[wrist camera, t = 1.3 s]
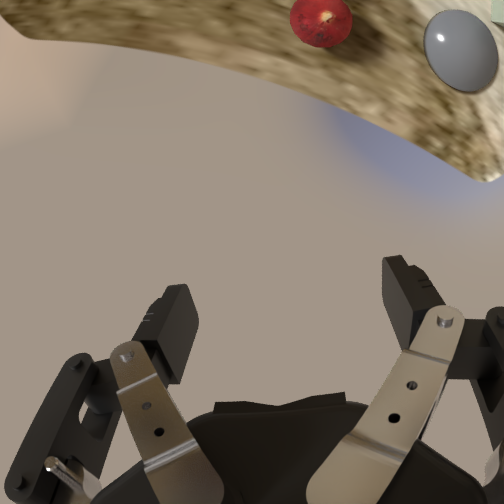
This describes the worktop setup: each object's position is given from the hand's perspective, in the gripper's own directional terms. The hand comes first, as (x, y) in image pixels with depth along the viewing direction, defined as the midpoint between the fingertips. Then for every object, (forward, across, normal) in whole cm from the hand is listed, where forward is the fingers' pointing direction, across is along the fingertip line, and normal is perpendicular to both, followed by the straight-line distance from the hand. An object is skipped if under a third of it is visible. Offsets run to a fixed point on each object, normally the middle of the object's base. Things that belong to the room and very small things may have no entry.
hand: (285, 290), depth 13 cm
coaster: (+24, -23, -12) cm, 35 cm away
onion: (+24, -6, -15) cm, 29 cm away
